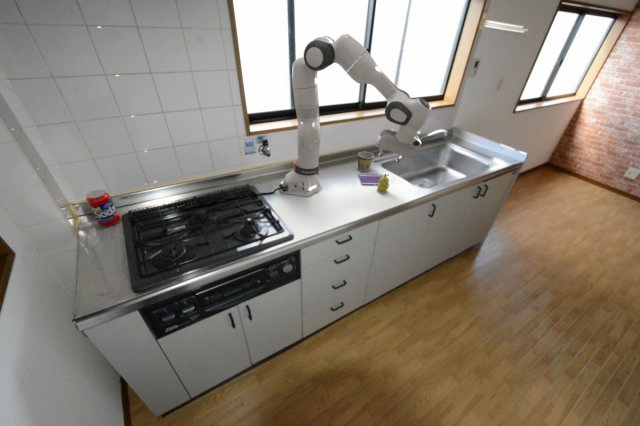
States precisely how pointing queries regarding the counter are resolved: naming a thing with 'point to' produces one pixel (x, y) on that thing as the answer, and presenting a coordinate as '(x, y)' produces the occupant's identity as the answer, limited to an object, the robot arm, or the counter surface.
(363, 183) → the towel
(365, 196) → the counter surface
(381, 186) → the green grape bunch
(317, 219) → the counter surface
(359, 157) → the ceramic cup
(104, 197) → the soda can
